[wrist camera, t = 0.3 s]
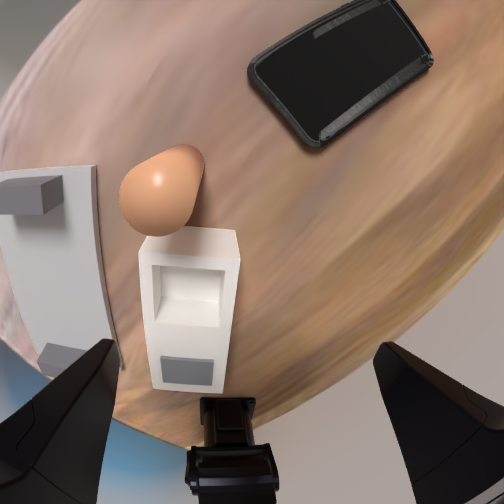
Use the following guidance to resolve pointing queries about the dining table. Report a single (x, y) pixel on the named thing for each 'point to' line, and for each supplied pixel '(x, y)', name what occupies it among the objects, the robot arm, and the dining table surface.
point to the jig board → (55, 261)
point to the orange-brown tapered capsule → (162, 191)
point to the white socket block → (189, 306)
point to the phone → (340, 67)
